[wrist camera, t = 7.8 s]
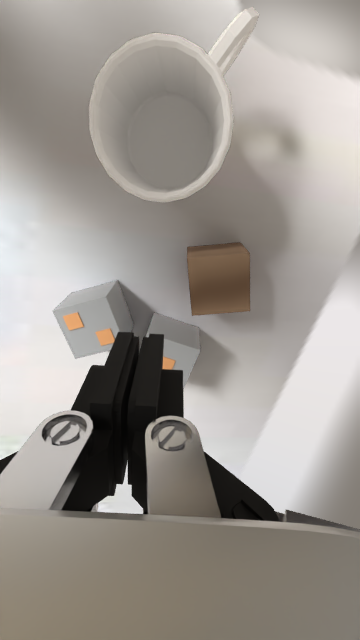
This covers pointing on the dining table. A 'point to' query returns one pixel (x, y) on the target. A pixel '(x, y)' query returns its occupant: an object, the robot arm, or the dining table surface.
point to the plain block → (219, 278)
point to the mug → (166, 111)
